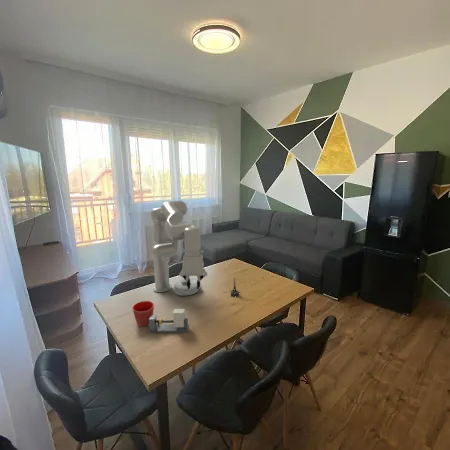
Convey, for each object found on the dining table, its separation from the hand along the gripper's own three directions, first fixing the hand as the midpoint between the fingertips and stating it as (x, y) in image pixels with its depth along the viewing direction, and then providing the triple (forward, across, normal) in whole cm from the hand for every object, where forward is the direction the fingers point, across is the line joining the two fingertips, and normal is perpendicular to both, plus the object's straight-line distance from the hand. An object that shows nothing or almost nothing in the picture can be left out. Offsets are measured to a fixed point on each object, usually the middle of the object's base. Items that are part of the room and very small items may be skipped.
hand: (193, 287), depth 121 cm
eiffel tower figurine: (+24, -23, -37) cm, 49 cm away
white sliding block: (+21, +8, 0) cm, 22 cm away
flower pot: (+24, +28, -6) cm, 37 cm away
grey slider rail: (+23, +13, 0) cm, 27 cm away
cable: (+24, +10, -43) cm, 50 cm away
